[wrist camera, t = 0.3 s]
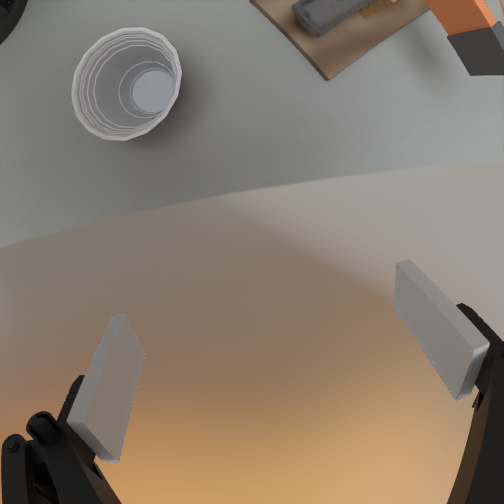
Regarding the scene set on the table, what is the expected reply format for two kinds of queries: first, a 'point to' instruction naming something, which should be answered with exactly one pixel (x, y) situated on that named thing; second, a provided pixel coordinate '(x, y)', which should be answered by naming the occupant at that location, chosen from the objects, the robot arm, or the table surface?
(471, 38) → the valve lever
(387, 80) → the table surface
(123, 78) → the plastic cup
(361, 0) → the valve body
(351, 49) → the mounting board
